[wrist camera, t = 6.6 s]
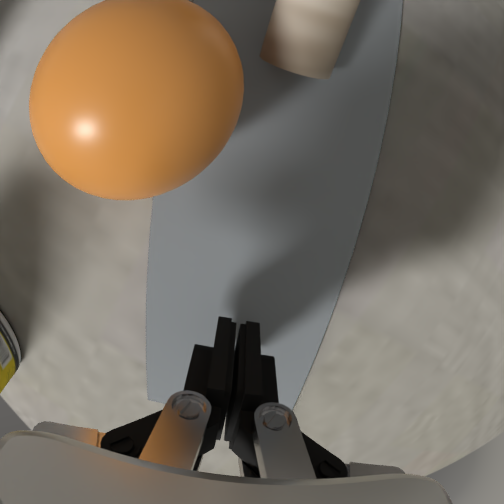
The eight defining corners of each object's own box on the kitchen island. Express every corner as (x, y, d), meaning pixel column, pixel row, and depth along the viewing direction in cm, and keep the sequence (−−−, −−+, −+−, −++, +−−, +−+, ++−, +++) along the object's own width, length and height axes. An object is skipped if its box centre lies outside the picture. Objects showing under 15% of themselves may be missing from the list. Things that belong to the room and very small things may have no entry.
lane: (401, -1, 8) (403, -3, 8) (286, 418, 16) (286, 421, 15) (210, -47, 7) (209, -49, 7) (148, 397, 15) (147, 399, 15)
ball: (-12, 38, 2) (265, 217, 6) (161, -67, 4) (303, 54, 8) (-12, 169, 6) (135, 248, 10) (80, 46, 8) (189, 121, 12)
